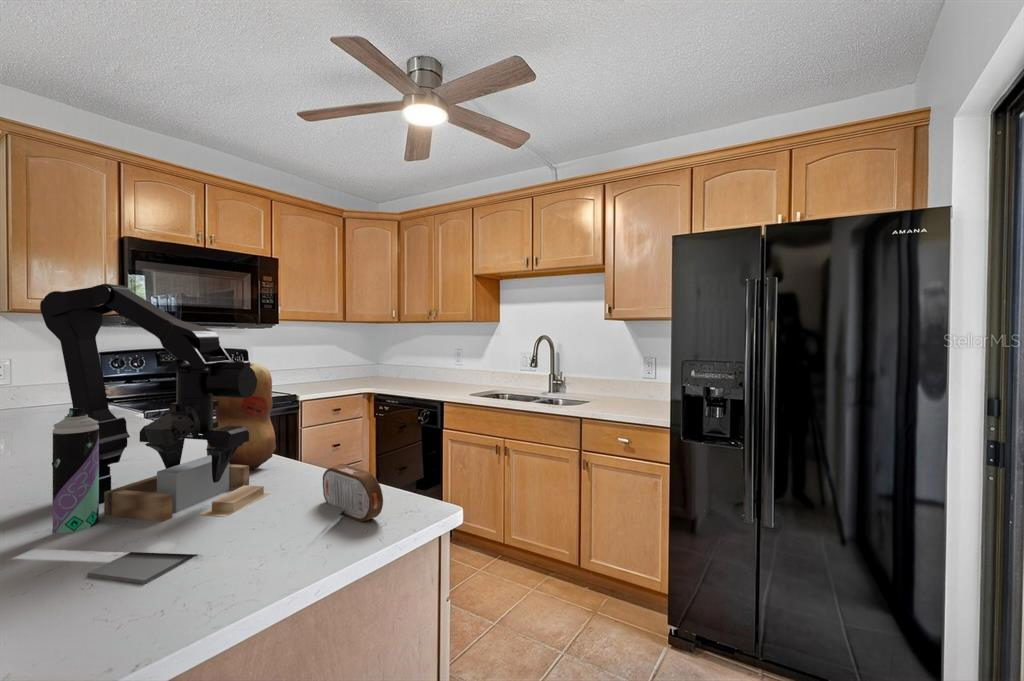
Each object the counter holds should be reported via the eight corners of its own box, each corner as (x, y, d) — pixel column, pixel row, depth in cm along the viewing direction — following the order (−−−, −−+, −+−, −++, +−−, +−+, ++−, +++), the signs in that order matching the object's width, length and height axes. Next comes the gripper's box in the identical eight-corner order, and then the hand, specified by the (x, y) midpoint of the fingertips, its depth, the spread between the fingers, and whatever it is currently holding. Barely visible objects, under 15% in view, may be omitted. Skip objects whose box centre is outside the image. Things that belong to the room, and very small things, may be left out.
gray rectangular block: (156, 517, 84) (156, 471, 84) (211, 494, 96) (211, 454, 96) (176, 519, 84) (176, 473, 83) (229, 496, 95) (229, 455, 95)
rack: (104, 521, 82) (104, 492, 82) (199, 485, 101) (199, 461, 101) (163, 527, 80) (163, 497, 80) (249, 489, 99) (249, 465, 99)
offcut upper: (211, 511, 84) (211, 501, 84) (243, 493, 93) (243, 485, 93) (233, 511, 84) (233, 502, 84) (263, 494, 93) (263, 486, 93)
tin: (384, 522, 84) (384, 474, 83) (369, 528, 81) (369, 478, 81) (334, 503, 93) (334, 459, 92) (319, 507, 90) (319, 462, 90)
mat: (87, 576, 64) (87, 572, 64) (194, 525, 81) (194, 522, 81) (144, 584, 62) (144, 580, 62) (241, 530, 79) (241, 527, 79)
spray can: (46, 542, 74) (46, 411, 73) (59, 529, 78) (60, 406, 78) (92, 535, 76) (93, 409, 76) (102, 523, 81) (103, 404, 81)
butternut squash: (221, 484, 102) (222, 366, 101) (197, 472, 110) (198, 362, 110) (286, 470, 112) (287, 363, 112) (260, 460, 121) (261, 360, 120)
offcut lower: (198, 524, 83) (198, 514, 83) (247, 500, 95) (247, 491, 95) (224, 527, 82) (224, 516, 82) (270, 502, 94) (270, 493, 94)
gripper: (109, 400, 83) (109, 490, 84) (203, 405, 80) (202, 499, 80) (167, 392, 94) (166, 472, 95) (251, 396, 91) (250, 479, 91)
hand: (194, 480), depth 90 cm, fingers open, 9 cm apart
